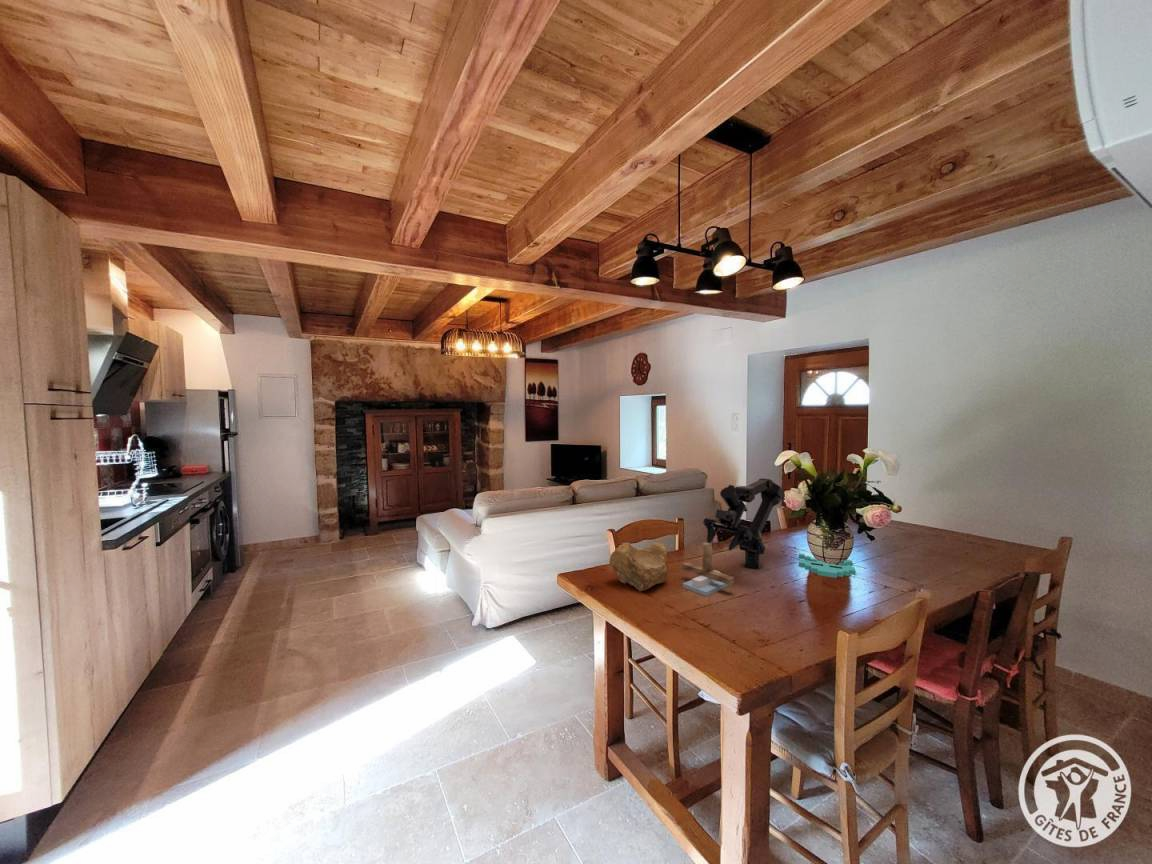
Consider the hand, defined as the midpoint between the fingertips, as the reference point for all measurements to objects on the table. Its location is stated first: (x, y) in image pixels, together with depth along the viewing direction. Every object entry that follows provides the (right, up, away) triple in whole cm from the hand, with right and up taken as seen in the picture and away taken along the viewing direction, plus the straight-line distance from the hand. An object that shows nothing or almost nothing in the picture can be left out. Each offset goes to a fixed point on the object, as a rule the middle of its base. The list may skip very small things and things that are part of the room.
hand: (718, 546), depth 163 cm
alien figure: (+50, -13, +14) cm, 53 cm away
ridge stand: (-6, -14, -4) cm, 15 cm away
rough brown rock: (-29, -14, -3) cm, 33 cm away
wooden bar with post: (-6, -10, -4) cm, 12 cm away
